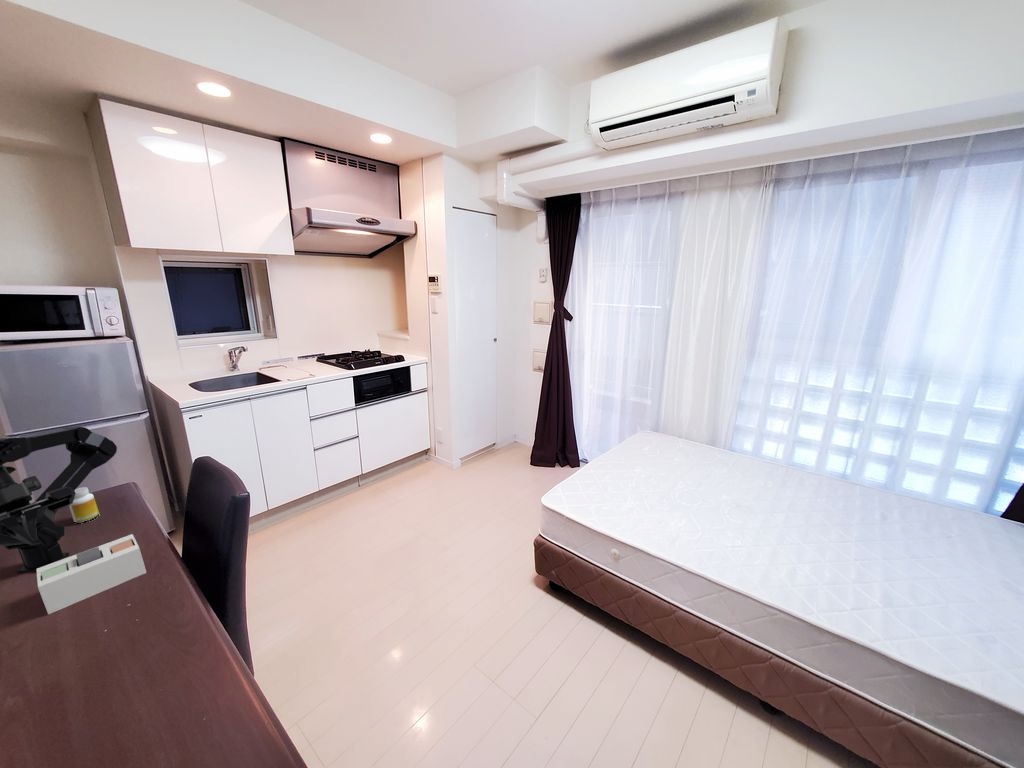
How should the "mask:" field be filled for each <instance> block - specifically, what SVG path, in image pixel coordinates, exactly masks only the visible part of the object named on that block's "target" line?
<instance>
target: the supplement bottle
mask: <svg viewBox="0 0 1024 768" xmlns="http://www.w3.org/2000/svg"><path fill="white" fill-rule="evenodd" d="M68 508H69V511H70V513H71V517H72V520H73V523H74V522H84V521H87V520H90V519H92V518H94V517H96V516H97V515H98V514H99V515H100V511H99V508H98V505H97V502H96V499H95V496H94V494H93V493H90V492H89V487H77V488H76V490H75V497H74V500H73V503H72V504H70V505H69V506H68Z"/></svg>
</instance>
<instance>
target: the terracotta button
mask: <svg viewBox="0 0 1024 768" xmlns="http://www.w3.org/2000/svg"><path fill="white" fill-rule="evenodd" d="M131 546H133V543H132V541H131V540H130V541H127V542H124V543H122V544H119V545H116V546H114V547H111V549H112V553H116V552H118V551H121V550H124V549H126V548H129V547H131Z"/></svg>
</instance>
